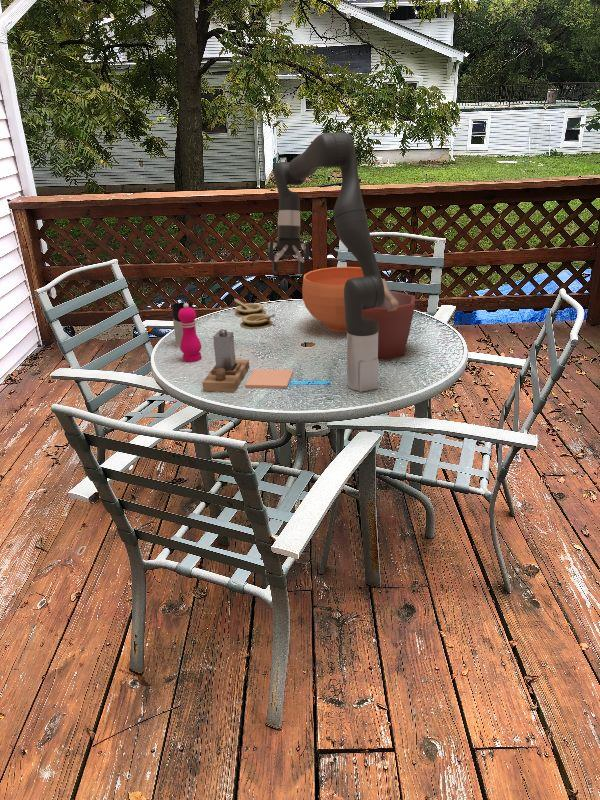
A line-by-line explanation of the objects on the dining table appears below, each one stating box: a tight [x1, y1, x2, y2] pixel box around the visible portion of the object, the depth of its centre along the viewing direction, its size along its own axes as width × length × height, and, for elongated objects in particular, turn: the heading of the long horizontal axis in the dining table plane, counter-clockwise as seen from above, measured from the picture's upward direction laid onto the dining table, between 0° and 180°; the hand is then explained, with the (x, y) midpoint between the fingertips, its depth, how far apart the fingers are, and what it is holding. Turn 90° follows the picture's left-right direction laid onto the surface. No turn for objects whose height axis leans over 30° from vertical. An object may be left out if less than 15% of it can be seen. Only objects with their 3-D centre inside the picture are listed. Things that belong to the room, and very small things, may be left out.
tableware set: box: [233, 298, 276, 330], centre depth 260 cm, size 30×20×6 cm, turn 14°
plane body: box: [202, 358, 250, 393], centre depth 200 cm, size 20×10×6 cm, turn 172°
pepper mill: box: [178, 303, 202, 363], centre depth 215 cm, size 7×7×20 cm
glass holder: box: [171, 301, 197, 348], centre depth 229 cm, size 9×14×15 cm, turn 28°
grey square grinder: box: [212, 329, 236, 371], centre depth 197 cm, size 5×5×13 cm
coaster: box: [244, 368, 294, 389], centre depth 199 cm, size 13×13×1 cm
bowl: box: [301, 266, 364, 333], centre depth 241 cm, size 30×30×20 cm
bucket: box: [362, 278, 416, 361], centre depth 213 cm, size 24×22×25 cm
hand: (288, 273), depth 216 cm, fingers open, 8 cm apart
